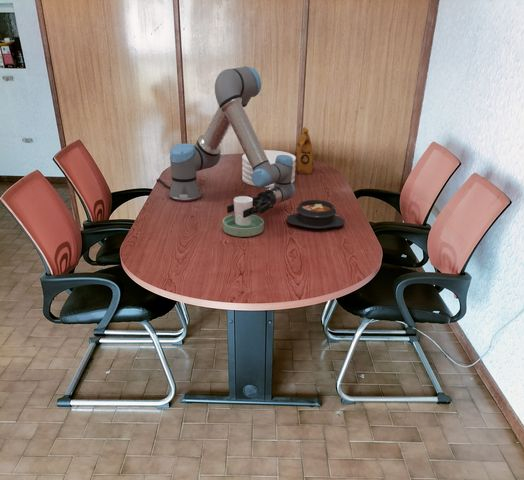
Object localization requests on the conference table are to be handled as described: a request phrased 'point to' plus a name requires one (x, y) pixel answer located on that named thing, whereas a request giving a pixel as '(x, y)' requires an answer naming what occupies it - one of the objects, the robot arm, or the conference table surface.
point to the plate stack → (271, 158)
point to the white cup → (239, 206)
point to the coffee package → (304, 153)
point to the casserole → (315, 215)
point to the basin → (243, 231)
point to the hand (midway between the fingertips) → (235, 212)
